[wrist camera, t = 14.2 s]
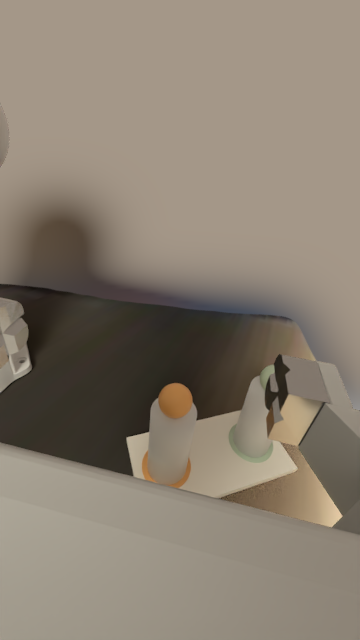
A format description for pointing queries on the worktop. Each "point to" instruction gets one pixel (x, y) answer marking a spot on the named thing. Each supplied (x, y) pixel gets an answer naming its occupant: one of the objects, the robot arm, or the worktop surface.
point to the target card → (217, 460)
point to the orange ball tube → (171, 434)
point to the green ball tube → (254, 419)
